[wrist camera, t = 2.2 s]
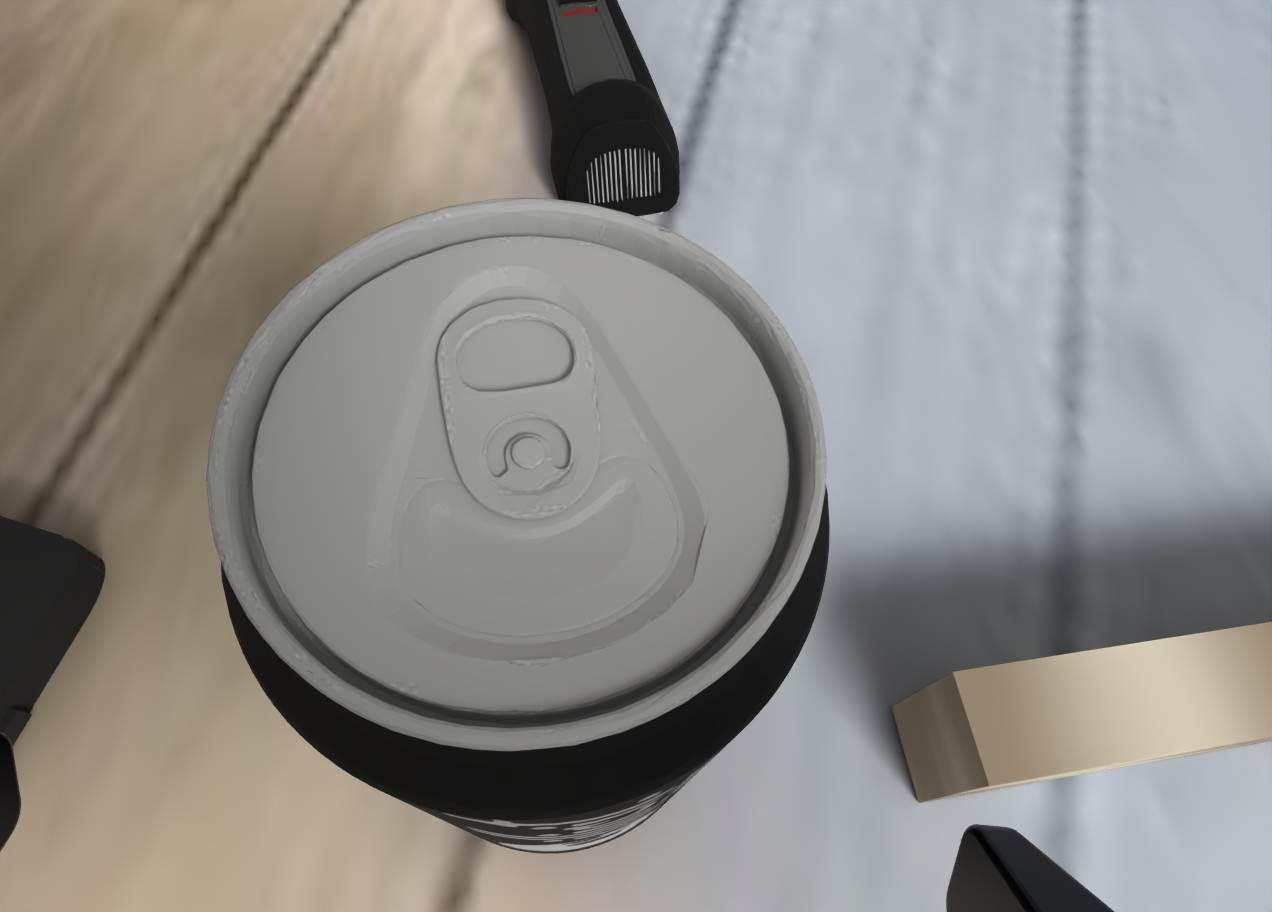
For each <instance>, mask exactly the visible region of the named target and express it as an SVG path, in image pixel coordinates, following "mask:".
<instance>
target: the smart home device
mask: <svg viewBox="0 0 1272 912" xmlns="http://www.w3.org/2000/svg"><path fill="white" fill-rule="evenodd" d="M104 577H105V565H104V562H103V560H102V559H100V558H99V557H97V556H96V555H94V554H93V553H91V552H90V551H88V550H87V549H85V548H84V547H83V546H81V545H80V544H78V543H77V542H75V541H73V540H70V539H67V538H64V537H63V536H61V535H58V534H55V533H51V532H48V531H45V530H42V529H39V528H36V527H32V526H29V525H26V524H23V523H20V522H17V521H14V520H10V519H7V518H4V517H1V516H0V732H1V733H4V734H6V736H7V737H8V738H9V739H10V741H11V744H12V746H13V745H14V743H15V741H16V740H17V738H18V736H19V735H20V733H21V731H22V730H23V728H24V727H25V725H26V723H27V722H28V720H29V718H30V717H31V714H29V712H30V710H31V709H32V707H33V706H34V704H35V702H36V701H37V699H38V697H39V696H40V694H41V692H42V691H43V689H44V687H45V686H46V684H47V683H48V681H49V679H50V678H51V676H52V674H53V673H54V671H55V669H56V668H57V666H58V665H59V663H60V661H61V660H62V658H63V656H64V655H65V653H66V651H67V650H68V648H69V647H70V645H71V643H72V642H73V640H74V638H75V637H76V635H77V633H78V632H79V630H80V629H81V627H82V625H83V624H84V622H85V620H86V619H87V617H88V615H89V614H90V612H91V610H92V608H93V606H94V604H95V602H96V600H97V598H98V596H99V593H100V591H101V588H102V585H103V582H104Z"/></svg>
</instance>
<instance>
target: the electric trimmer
mask: <svg viewBox="0 0 1272 912" xmlns="http://www.w3.org/2000/svg"><path fill="white" fill-rule="evenodd" d="M559 4H560V5H559ZM506 6H507V10H508V13H509V15H510V17H511V18H512V19H513V20H515V21H516V22H518V23H520V24H522V25H523V26H525V27H526V28H527V32H528V35H529V39H530V43H531V46H532V50H533V53H534V57H535V60H536V64H537V67H538V71H539V74H540V78H541V81H542V85H543V89H544V93H545V97H546V102H547V106H548V110H549V115H550V119H551V124H552V144H551V159H550V164H551V171H552V176H553V180H554V183H555V187H556V190H557V194H558V197H559V200H564V201H572V202H579V203H587V204H592V205H596V206H600V207H604V208H608V209H612V210H616V211H620V212H624V213H628V214H631V215H634V216H636V217H642V216H647V215H652V214H653V215H654V214H657V213H658V214H663V212H665V211H669V210H670V209H671V208H672V207H673V206H674V205H675V204H676V202H677V199H678V196H679V151H678V146H677V141H676V137H675V134H674V131H673V128H672V126H671V124H670V121H669V119H668V117H667V114H666V112H665V110H664V108H663V105H662V102H661V100H660V97H659V95H658V92H657V90H656V87H655V85H654V83H653V80H652V78H651V75H650V73H649V70H648V68H647V66H646V64H645V61H644V59H643V57H642V55H641V53H640V50H639V48H638V46H637V44H636V41H635V39H634V37H633V35H632V33H631V30H630V28H629V26H628V24H627V22H626V19H625V17H624V15H623V13H622V11H621V8H620V6H619V4H618V2H617V0H506Z"/></svg>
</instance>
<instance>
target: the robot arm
mask: <svg viewBox="0 0 1272 912" xmlns="http://www.w3.org/2000/svg"><path fill="white" fill-rule="evenodd" d="M20 809H21V797H20V791H19V785H18V779H17V772H16V766H15V760H14V754H13V747H12V744H11V741H10V739H9V738H8V737H7V736H6V734H4V733H1V732H0V851H1V850H2V848H3V847H4V845H5V844H6V842H7V840H8V839H9V837H10V836H11V834H12V832H13V830H14V829H15V826H16V824H17V822H18V819H19V815H20ZM946 909H947V912H1114V911H1113V910H1112V909H1111V908H1109V907H1108V906H1107V905H1106V904H1105V903H1103V902H1102V901H1101V900H1100V899H1099V898H1097V897H1096V896H1095V895H1094V894H1093V893H1091V892H1090V891H1089V890H1088V889H1086V888H1085V887H1084V886H1083V885H1082V884H1080V883H1079V882H1078V881H1077V880H1076V879H1074V878H1073V877H1072V876H1071V875H1070V874H1068V873H1067V872H1066V871H1065V870H1064V869H1062V868H1061V867H1060V866H1059V865H1057V864H1056V863H1055V862H1054V861H1053V860H1051V859H1050V858H1049V857H1048V856H1047V855H1045V854H1044V853H1043V852H1042V851H1041V850H1039V849H1038V848H1037V847H1036V846H1035V845H1033V844H1032V843H1031V842H1030V841H1028V840H1027V839H1026V838H1025V837H1024V836H1022V835H1021V834H1020V833H1018V832H1017V831H1016V830H1014V829H1011V828H1008V827H999V826H989V825H978V824H975V825H972V826H969V827H968V828H967V829H966V831H965V832H964V834H963V837H962V839H961V843H960V847H959V850H958V854H957V857H956V861H955V865H954V868H953V872H952V875H951V879H950V883H949V886H948V891H947V898H946Z"/></svg>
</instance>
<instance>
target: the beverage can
mask: <svg viewBox="0 0 1272 912" xmlns="http://www.w3.org/2000/svg"><path fill="white" fill-rule="evenodd" d="M826 466H827V459H826V446H825V436H824V429H823V421H822V416H821V412H820V408H819V404H818V400H817V396H816V393H815V390H814V387H813V385H812V382H811V379H810V376H809V373H808V370H807V368H806V366H805V364H804V362H803V360H802V358H801V356H800V354H799V352H798V350H797V348H796V346H795V344H794V342H793V341H792V339H791V338H790V336H789V335H788V333H787V332H786V330H785V329H784V327H783V326H782V324H781V323H780V321H779V320H778V318H777V317H776V315H775V314H774V312H773V311H772V310H771V309H770V308H769V306H768V305H767V304H766V303H765V302H764V301H763V300H762V299H761V298H760V296H759V295H758V294H757V293H756V292H755V291H754V290H753V289H752V287H751V286H750V285H749V284H748V283H747V282H745V281H744V280H743V279H742V278H741V277H740V276H739V275H738V274H736V273H735V272H734V271H733V270H732V269H731V268H730V267H728V266H727V265H726V264H725V263H724V262H722V261H721V260H719V259H718V258H716V257H715V256H714V255H712V254H711V253H709V252H707V251H706V250H704V249H702V248H701V247H699V246H698V245H696V244H694V243H693V242H691V241H689V240H688V239H686V238H684V237H683V236H681V235H679V234H677V233H675V232H672V231H670V230H668V229H666V228H664V227H662V226H660V225H658V224H655V223H653V222H650V221H647V220H645V219H642V218H639V217H636V216H634V215H631V214H628V213H624V212H620V211H616V210H612V209H608V208H604V207H600V206H596V205H592V204H587V203H579V202H572V201H564V200H557V199H537V198H513V199H494V200H487V201H480V202H474V203H468V204H461V205H455V206H450V207H446V208H442V209H439V210H435V211H431V212H428V213H424V214H420V215H416V216H414V217H411V218H408V219H406V220H403V221H401V222H398V223H396V224H393V225H390V226H388V227H385V228H383V229H381V230H379V231H377V232H375V233H373V234H371V235H369V236H367V237H365V238H363V239H361V240H359V241H357V242H356V243H354V244H352V245H351V246H349V247H348V248H346V249H345V250H343V251H342V252H340V253H338V254H337V255H335V256H334V257H332V258H331V259H329V260H328V261H326V262H324V263H323V264H322V265H321V266H319V267H318V268H317V269H316V270H315V271H313V272H312V273H311V274H310V275H309V276H307V277H306V278H305V279H304V280H303V281H301V282H300V283H299V284H298V285H297V286H295V287H294V288H293V289H292V290H291V291H290V292H289V293H288V294H287V295H286V296H285V297H284V298H283V299H282V300H281V301H280V303H279V304H278V305H277V306H276V307H275V308H274V309H273V310H272V311H271V312H270V314H269V315H268V316H267V318H266V319H265V320H264V322H263V323H262V324H261V326H260V327H259V328H258V330H257V331H256V332H255V333H254V335H253V336H252V337H251V339H250V341H249V343H248V344H247V346H246V348H245V350H244V351H243V353H242V355H241V357H240V358H239V360H238V362H237V364H236V366H235V367H234V369H233V371H232V373H231V375H230V378H229V381H228V383H227V386H226V388H225V391H224V393H223V396H222V399H221V401H220V404H219V406H218V410H217V414H216V418H215V422H214V426H213V431H212V435H211V439H210V447H209V456H208V465H207V475H206V476H207V489H208V502H209V516H210V521H211V526H212V531H213V536H214V541H215V546H216V548H217V551H218V554H219V557H220V560H221V572H222V583H223V587H224V592H225V596H226V601H227V605H228V610H229V614H230V618H231V621H232V624H233V627H234V630H235V634H236V636H237V639H238V641H239V644H240V646H241V649H242V652H243V654H244V656H245V658H246V660H247V662H248V664H249V666H250V668H251V670H252V672H253V674H254V675H255V677H256V679H257V681H258V682H259V684H260V686H261V687H262V689H263V690H264V692H265V693H266V695H267V696H268V698H269V699H270V700H271V702H272V703H273V705H274V706H275V707H276V708H277V710H278V711H279V712H280V713H281V715H282V716H283V717H284V718H285V719H286V721H287V722H288V723H289V724H290V725H291V726H292V727H293V728H294V729H295V730H296V731H297V732H298V733H299V734H300V735H301V736H302V737H303V738H304V739H305V740H306V741H307V742H308V743H309V744H311V745H312V746H313V747H314V748H315V749H316V750H317V751H318V752H320V753H321V754H322V755H324V756H325V757H326V758H328V759H329V760H330V761H331V762H333V763H334V764H335V765H337V766H338V767H340V768H341V769H343V770H344V771H346V772H347V773H349V774H350V775H352V776H354V777H356V778H358V779H359V780H361V781H363V782H365V783H367V784H368V785H370V786H372V787H374V788H376V789H378V790H380V791H382V792H384V793H386V794H389V795H391V796H393V797H395V798H397V799H399V800H401V801H403V802H406V803H408V804H410V805H412V806H414V807H416V808H418V809H421V810H423V811H425V812H427V813H429V814H431V815H433V816H435V817H438V818H440V819H442V820H444V821H446V822H448V823H450V824H452V825H455V826H457V827H459V828H461V829H463V830H465V831H467V832H469V833H472V834H474V835H476V836H478V837H480V838H482V839H485V840H487V841H489V842H491V843H494V844H497V845H500V846H503V847H506V848H510V849H514V850H519V851H524V852H532V853H566V852H573V851H579V850H583V849H588V848H591V847H595V846H598V845H601V844H604V843H606V842H609V841H611V840H613V839H615V838H618V837H620V836H622V835H624V834H625V833H627V832H629V831H631V830H632V829H634V828H635V827H637V826H639V825H640V824H641V823H643V822H644V821H645V820H647V819H648V818H649V817H651V816H652V815H653V814H654V813H655V812H656V811H658V810H659V809H660V808H661V807H662V806H663V805H664V804H665V803H666V802H667V801H668V800H669V799H670V798H671V797H672V796H673V795H675V794H676V793H677V792H678V791H679V790H680V789H681V788H682V787H683V786H684V785H685V784H686V783H687V782H688V781H689V780H690V779H691V778H692V777H694V776H695V775H696V774H697V773H698V772H699V771H700V770H701V769H702V768H703V767H704V766H705V765H706V764H707V763H708V762H709V761H710V760H711V759H713V758H714V757H715V756H716V755H717V754H718V753H719V752H720V751H721V750H722V749H723V748H724V747H725V746H726V745H727V744H728V743H729V742H730V741H732V740H733V739H734V738H735V737H736V736H737V735H738V734H739V733H740V732H741V731H742V730H743V729H744V728H745V727H746V726H747V725H748V724H749V723H750V722H751V721H752V720H753V719H754V718H755V716H756V715H757V714H758V713H759V712H760V711H761V710H762V708H763V707H764V706H765V705H766V704H767V703H768V702H769V700H770V699H771V698H772V696H773V695H774V694H775V692H776V691H777V690H778V688H779V687H780V685H781V684H782V682H783V681H784V679H785V678H786V676H787V674H788V673H789V671H790V670H791V668H792V666H793V664H794V663H795V661H796V659H797V657H798V655H799V653H800V651H801V649H802V647H803V645H804V643H805V641H806V639H807V637H808V634H809V632H810V629H811V626H812V624H813V621H814V619H815V616H816V612H817V609H818V606H819V603H820V599H821V595H822V591H823V586H824V582H825V576H826V570H827V563H828V552H829V510H828V493H827V488H826Z"/></svg>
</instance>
